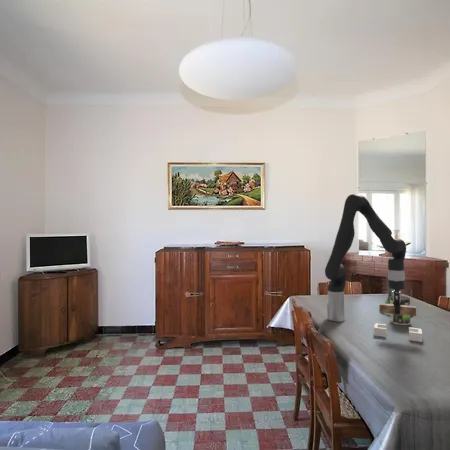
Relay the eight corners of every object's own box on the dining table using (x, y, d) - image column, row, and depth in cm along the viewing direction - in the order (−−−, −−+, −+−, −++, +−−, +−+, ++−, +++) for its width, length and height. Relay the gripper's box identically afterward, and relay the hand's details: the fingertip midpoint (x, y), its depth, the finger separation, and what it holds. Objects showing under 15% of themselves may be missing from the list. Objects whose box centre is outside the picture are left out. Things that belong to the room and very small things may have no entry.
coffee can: (415, 324, 177) (414, 298, 177) (399, 326, 174) (399, 300, 174) (400, 318, 187) (399, 294, 187) (385, 320, 184) (385, 296, 184)
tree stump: (381, 317, 192) (378, 287, 196) (379, 316, 210) (376, 288, 214) (416, 318, 185) (412, 287, 189) (410, 317, 203) (407, 288, 207)
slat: (379, 312, 161) (379, 304, 161) (380, 310, 164) (379, 303, 164) (416, 316, 153) (415, 307, 153) (416, 314, 156) (415, 306, 156)
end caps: (374, 335, 161) (374, 327, 161) (375, 330, 167) (375, 323, 167) (422, 342, 151) (422, 333, 150) (421, 336, 157) (421, 328, 157)
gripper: (388, 276, 167) (389, 308, 167) (387, 280, 155) (388, 316, 155) (404, 277, 163) (405, 310, 163) (405, 281, 151) (406, 317, 151)
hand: (397, 312), depth 159 cm, fingers closed on slat, 3 cm apart
